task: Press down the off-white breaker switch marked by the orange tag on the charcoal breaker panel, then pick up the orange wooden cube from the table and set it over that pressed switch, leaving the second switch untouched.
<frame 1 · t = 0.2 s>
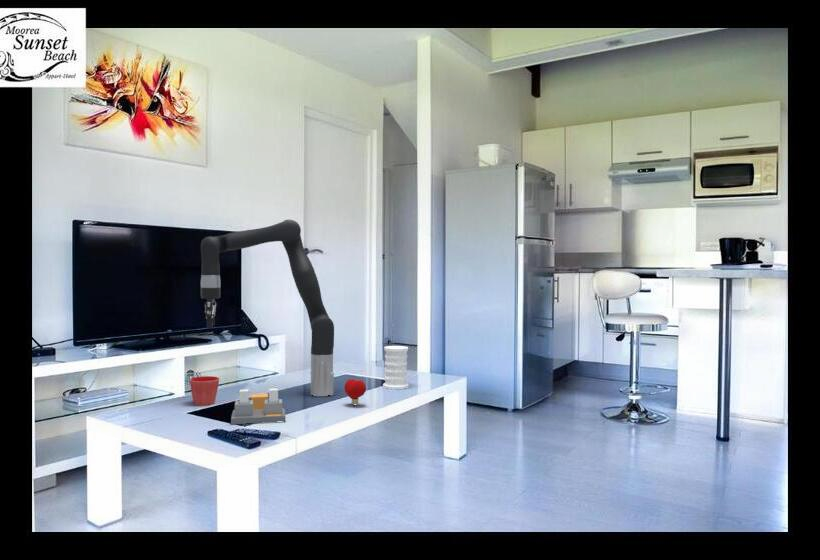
hand: (210, 326, 237), 29 cm above the table, tool pointing down, fingers open, 8 cm apart
flower pot: (204, 403, 230), on the table
breaker panel: (258, 418, 208), on the table
light bulb: (354, 406, 230), on the table
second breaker: (244, 398, 206), point 7 cm above the table, slide at 0.0 cm
decorative container: (395, 387, 266), on the table
orange wooden cube: (259, 410, 220), on the table
white breaker: (273, 397, 209), point 7 cm above the table, slide at 0.0 cm
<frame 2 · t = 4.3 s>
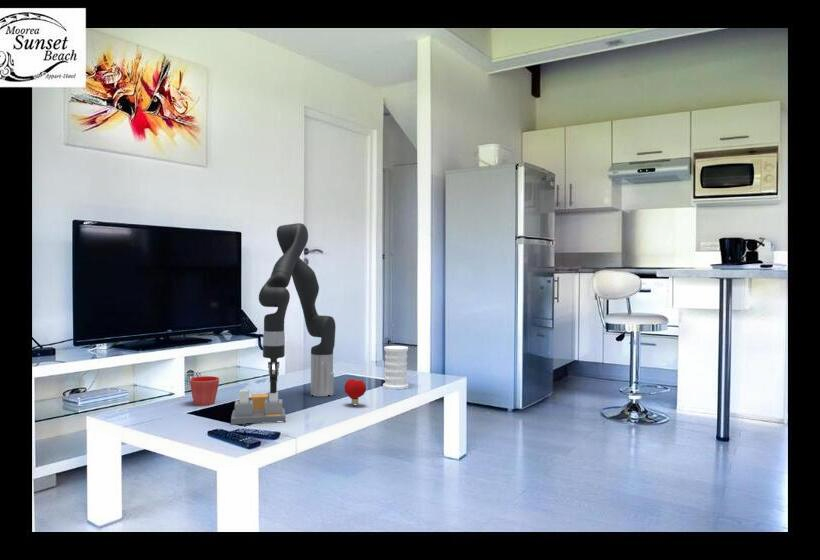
hand: (273, 392, 209), 9 cm above the table, tool pointing down, fingers closed
white breaker: (273, 400, 209), point 6 cm above the table, slide at 1.1 cm, touching gripper
everything else where it was.
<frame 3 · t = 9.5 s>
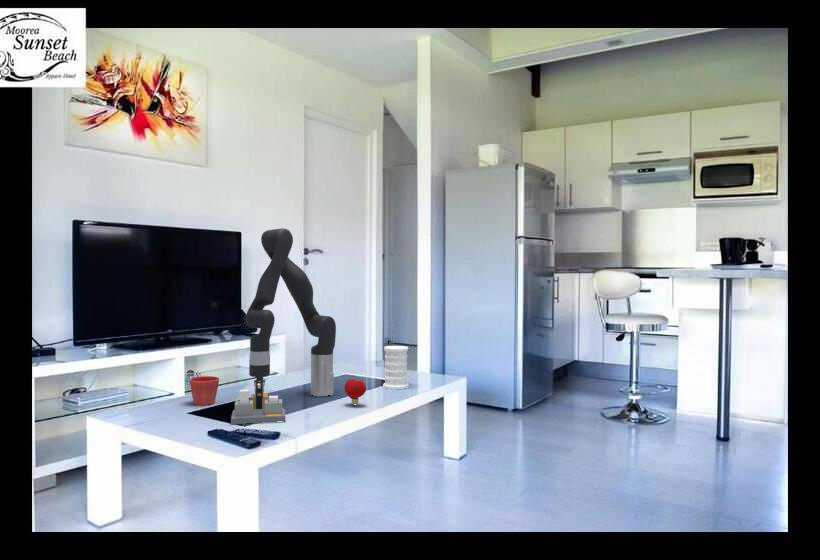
hand: (259, 407, 220), 1 cm above the table, tool pointing down, fingers closed on orange wooden cube, 6 cm apart
orange wooden cube: (259, 410, 220), on the table, touching gripper
white breaker: (273, 404, 209), point 5 cm above the table, slide at 2.6 cm
everything else where it was.
when the fingers open (8 cm above the table, at t = 13.6 s): orange wooden cube drops 1 cm, resting on breaker panel.
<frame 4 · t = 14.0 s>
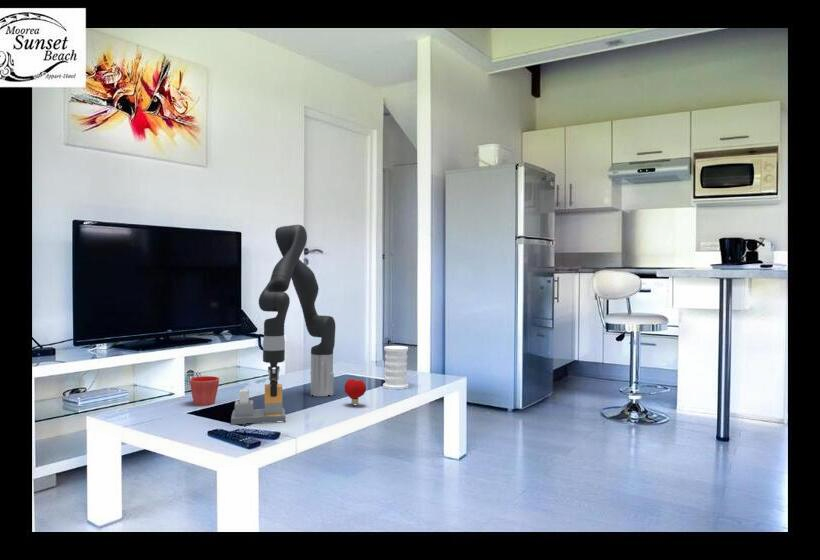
hand: (273, 393, 209), 9 cm above the table, tool pointing down, fingers open, 8 cm apart
orange wooden cube: (273, 401, 209), point 6 cm above the table, touching breaker panel
everything else where it was.
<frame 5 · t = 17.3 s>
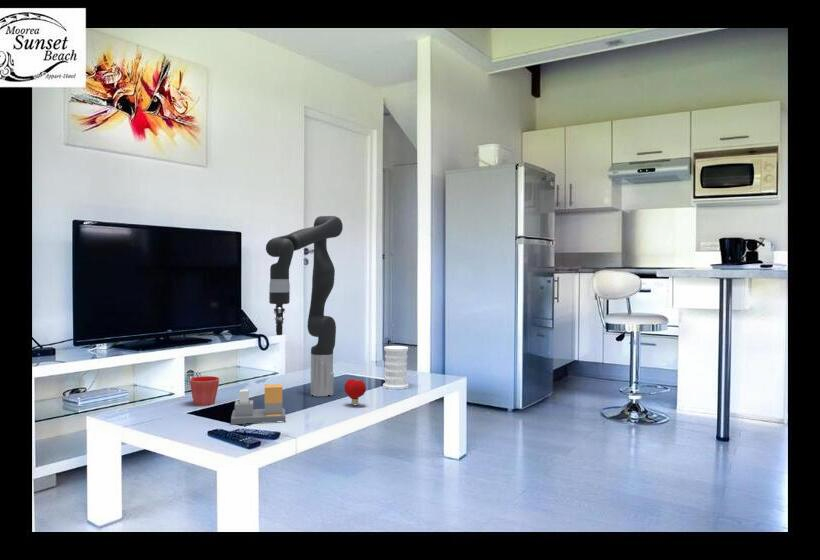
hand: (279, 333, 224), 28 cm above the table, tool pointing down, fingers open, 8 cm apart
nothing on the table moved.
at the end: white breaker slide at 2.6 cm; orange wooden cube 0.1 cm from the target spot on the breaker panel, point 6.0 cm above the breaker panel's base; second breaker slide at 0.0 cm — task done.
